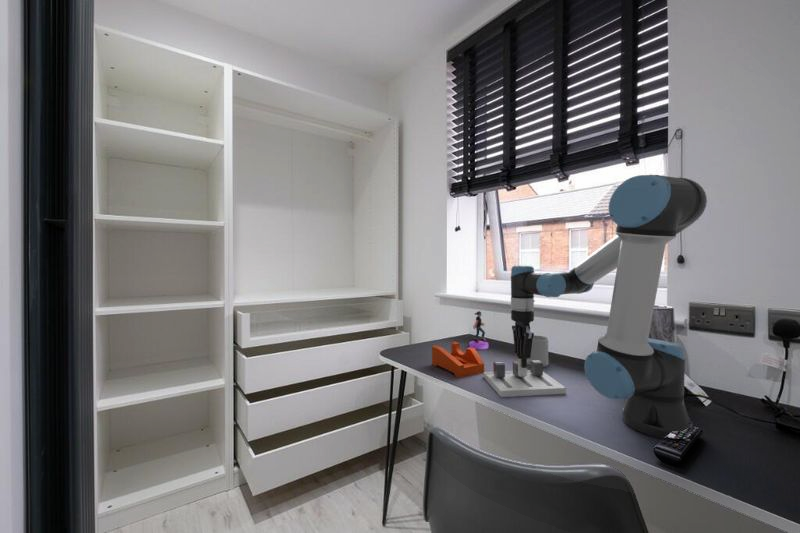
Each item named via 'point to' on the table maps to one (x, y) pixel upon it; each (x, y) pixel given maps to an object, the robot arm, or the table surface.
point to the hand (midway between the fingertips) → (522, 375)
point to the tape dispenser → (458, 360)
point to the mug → (539, 350)
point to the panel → (524, 384)
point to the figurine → (476, 343)
